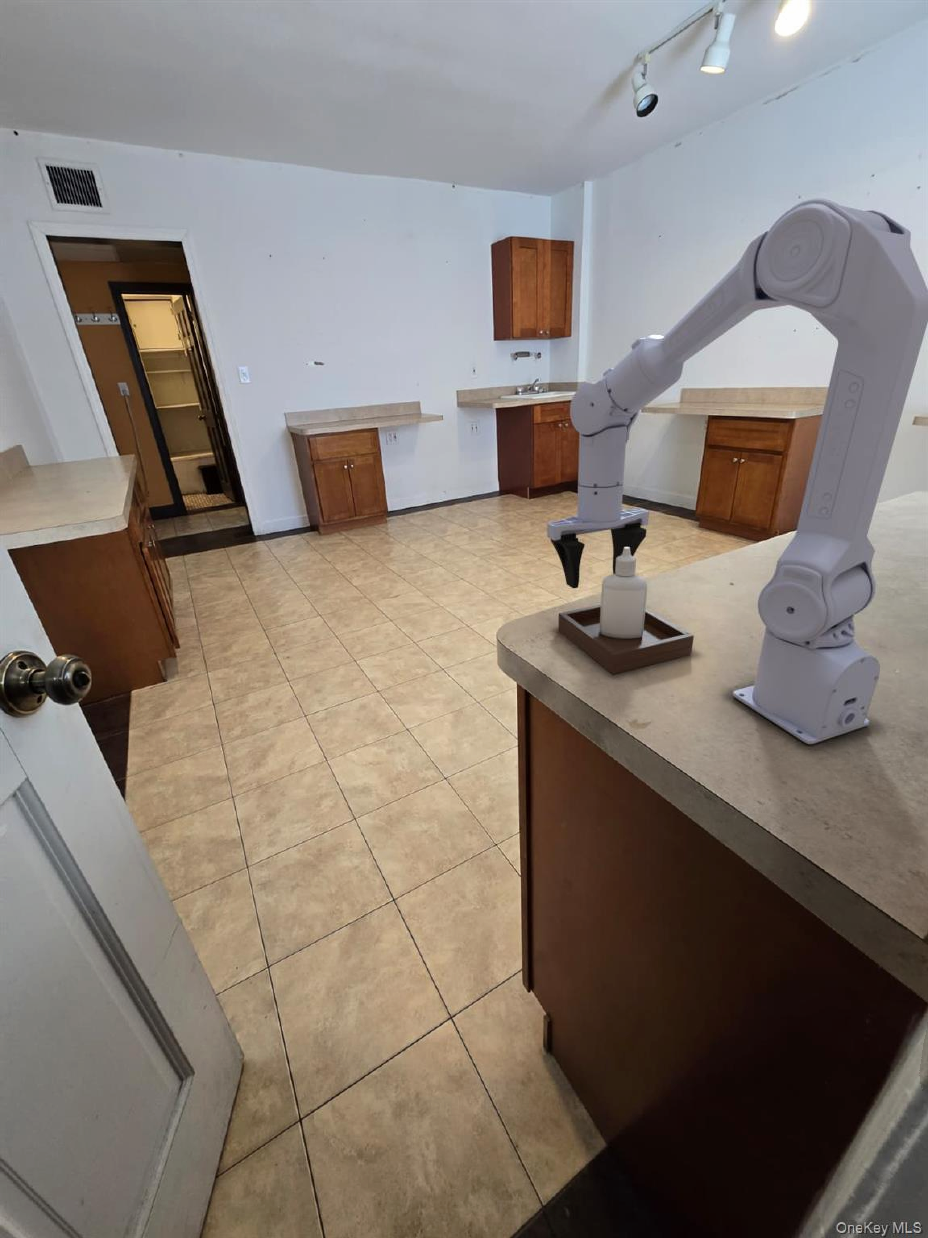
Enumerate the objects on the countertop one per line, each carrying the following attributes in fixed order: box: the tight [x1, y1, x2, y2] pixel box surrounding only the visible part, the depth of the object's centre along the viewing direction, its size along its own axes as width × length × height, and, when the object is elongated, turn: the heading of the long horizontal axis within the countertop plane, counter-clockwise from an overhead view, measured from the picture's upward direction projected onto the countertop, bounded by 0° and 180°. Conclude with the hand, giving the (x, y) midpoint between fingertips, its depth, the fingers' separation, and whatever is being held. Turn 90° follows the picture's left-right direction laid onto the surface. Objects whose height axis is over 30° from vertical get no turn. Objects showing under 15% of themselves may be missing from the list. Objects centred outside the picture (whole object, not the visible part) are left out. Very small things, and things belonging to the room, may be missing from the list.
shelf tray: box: [558, 604, 695, 675], centre depth 69 cm, size 14×12×3 cm
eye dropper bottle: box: [600, 547, 648, 639], centre depth 66 cm, size 4×6×12 cm
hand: (596, 581), depth 72 cm, fingers open, 7 cm apart
